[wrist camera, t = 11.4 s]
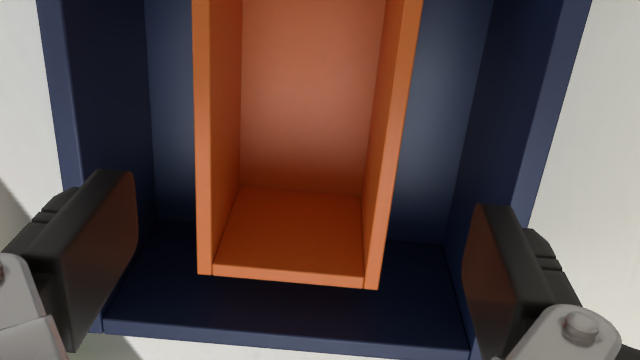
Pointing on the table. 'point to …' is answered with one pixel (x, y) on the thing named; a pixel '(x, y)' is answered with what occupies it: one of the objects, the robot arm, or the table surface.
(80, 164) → the tote
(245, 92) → the small bin
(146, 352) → the table surface
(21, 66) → the table surface
